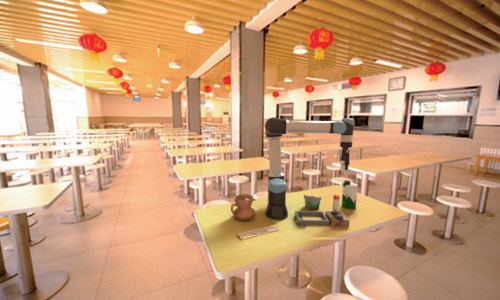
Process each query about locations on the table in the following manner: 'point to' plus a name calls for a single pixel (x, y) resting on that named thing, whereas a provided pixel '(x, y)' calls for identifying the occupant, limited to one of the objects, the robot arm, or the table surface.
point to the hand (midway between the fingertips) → (343, 172)
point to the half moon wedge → (312, 202)
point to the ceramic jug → (243, 207)
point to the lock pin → (335, 204)
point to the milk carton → (349, 195)
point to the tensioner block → (337, 219)
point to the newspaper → (258, 231)
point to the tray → (310, 222)
